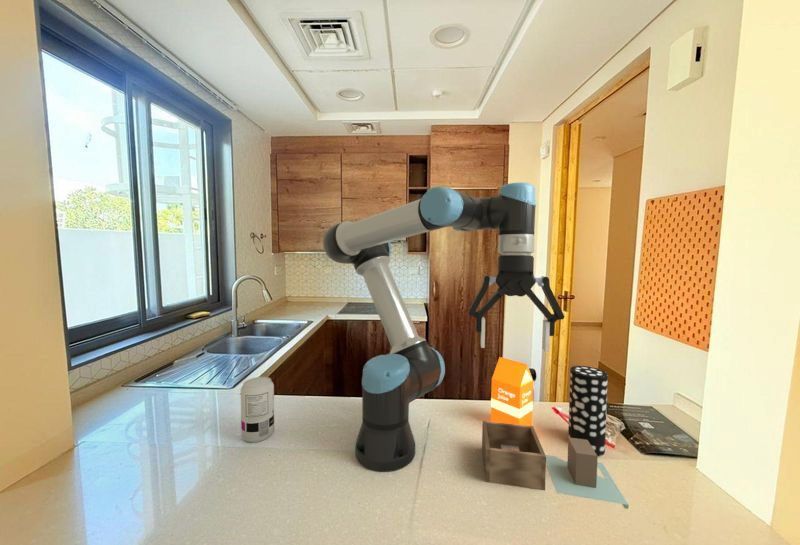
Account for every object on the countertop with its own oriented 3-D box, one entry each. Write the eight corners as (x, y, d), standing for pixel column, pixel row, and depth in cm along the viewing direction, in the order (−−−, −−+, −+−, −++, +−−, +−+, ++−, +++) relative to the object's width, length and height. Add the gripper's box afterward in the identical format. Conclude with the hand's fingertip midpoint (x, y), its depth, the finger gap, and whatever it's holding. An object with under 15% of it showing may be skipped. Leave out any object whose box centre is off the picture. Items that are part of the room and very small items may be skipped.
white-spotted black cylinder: (610, 458, 77) (614, 378, 76) (574, 453, 79) (576, 375, 78) (596, 439, 85) (599, 367, 84) (563, 435, 87) (566, 364, 86)
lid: (556, 498, 64) (557, 459, 64) (543, 459, 77) (544, 426, 77) (628, 510, 61) (630, 470, 61) (602, 467, 74) (603, 434, 74)
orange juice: (518, 440, 84) (520, 367, 83) (490, 426, 91) (491, 359, 90) (532, 430, 89) (534, 361, 88) (504, 418, 96) (505, 354, 95)
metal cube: (502, 472, 70) (502, 454, 70) (500, 460, 74) (500, 444, 74) (521, 474, 70) (521, 457, 70) (517, 462, 74) (518, 446, 73)
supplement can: (234, 439, 83) (233, 384, 83) (259, 424, 91) (258, 374, 90) (257, 446, 80) (256, 389, 80) (280, 430, 88) (280, 378, 87)
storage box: (485, 485, 67) (486, 449, 67) (481, 451, 79) (482, 420, 79) (544, 493, 65) (546, 456, 65) (532, 457, 77) (533, 426, 76)
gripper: (459, 254, 68) (457, 349, 69) (583, 254, 64) (579, 357, 65) (459, 254, 76) (457, 340, 77) (570, 255, 71) (567, 346, 72)
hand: (513, 348), depth 71 cm, fingers open, 13 cm apart
